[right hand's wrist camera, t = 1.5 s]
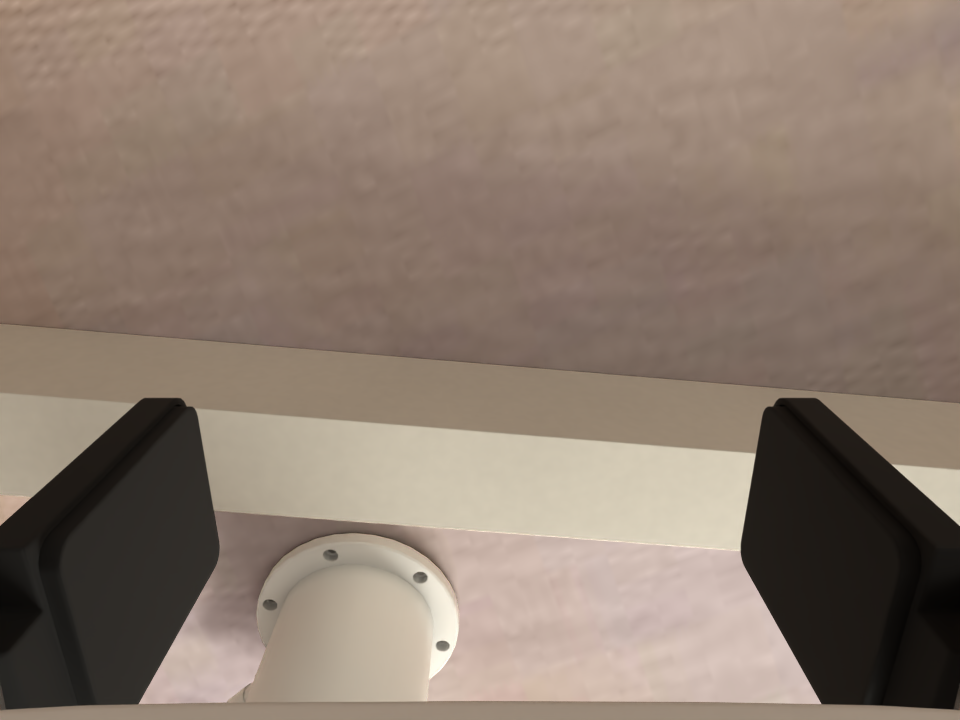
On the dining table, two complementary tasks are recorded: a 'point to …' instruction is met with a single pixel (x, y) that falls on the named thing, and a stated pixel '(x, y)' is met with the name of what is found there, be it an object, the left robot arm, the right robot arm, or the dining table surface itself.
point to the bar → (440, 436)
